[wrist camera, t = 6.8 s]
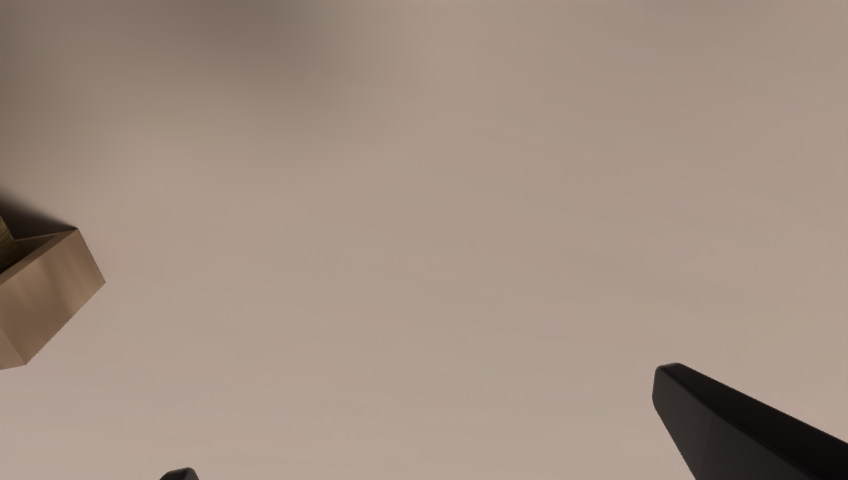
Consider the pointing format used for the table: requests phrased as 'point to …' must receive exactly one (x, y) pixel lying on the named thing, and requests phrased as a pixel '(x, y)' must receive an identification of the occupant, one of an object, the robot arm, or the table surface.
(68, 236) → the socket block
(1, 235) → the gold elongated piece
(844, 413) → the table surface
